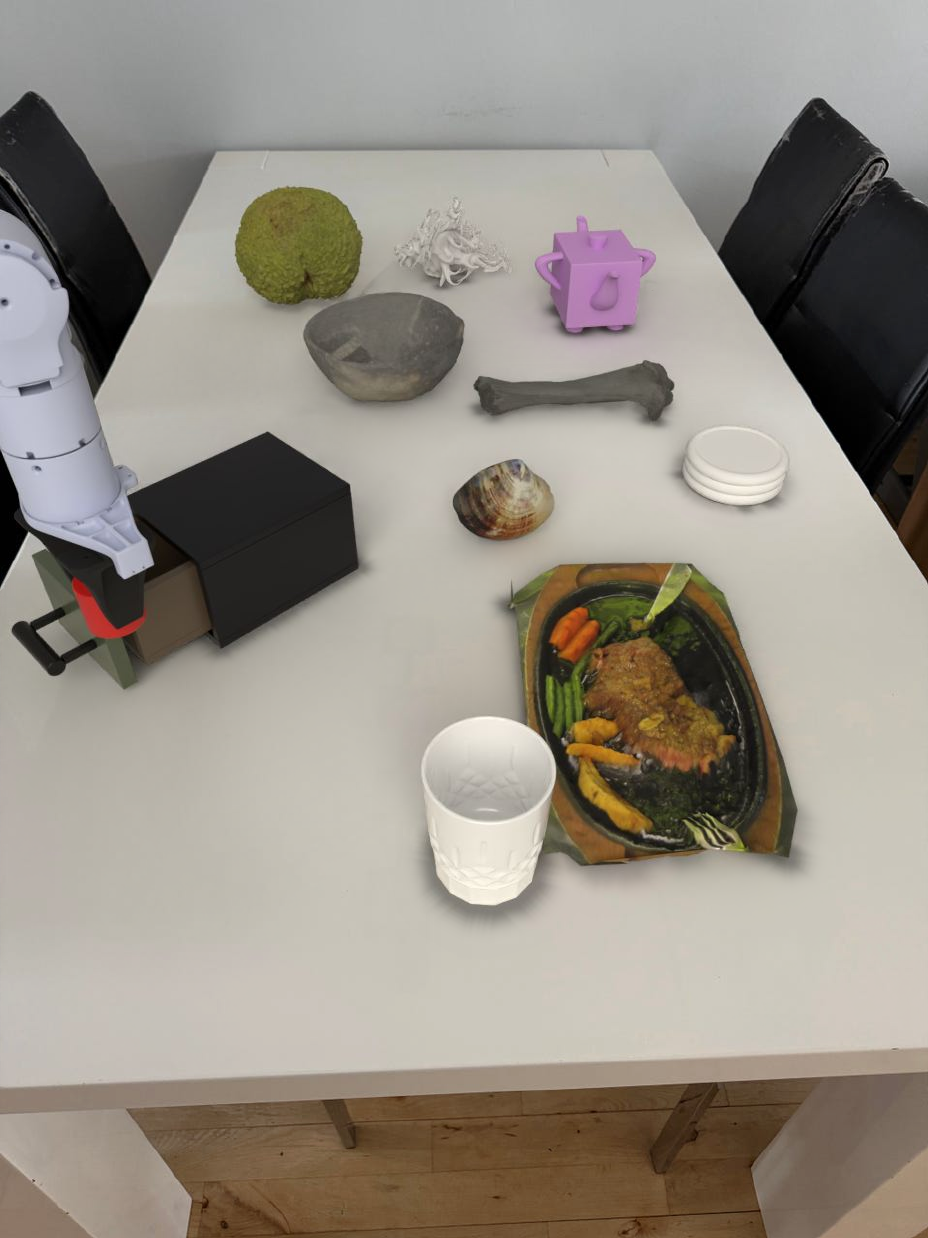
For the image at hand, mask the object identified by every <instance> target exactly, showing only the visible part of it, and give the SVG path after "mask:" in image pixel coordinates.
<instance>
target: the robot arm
mask: <svg viewBox="0 0 928 1238" xmlns="http://www.w3.org/2000/svg"><path fill="white" fill-rule="evenodd" d="M69 298H70V297H69V293H68V290H67V289H66V288H65V287H62V283H61V281H60V279H59V276H58V274H57V273H56V270H55V269H54V266H53V265H52V262H51V260H50V259H49V257H48V255H47V252H46V250H45V249H44V247H43V245H42V243H41V241H40V239H39V238H38V237H37V235H36V234H35V233H34V232H33V230H32V229H30V228H29V226H28V225H26V224H25V223H24V222H23V221H22V220H21V219H19V218H17V216H15V215H13V214H11V213H9V212H7V211H5V210H3V209H0V452H1V454H2V456H3V459H4V461H5V464H6V466H7V469H8V471H9V474H10V476H11V478H12V481H13V483H14V486H15V488H16V491H17V493H18V500H19V508H17V509H16V511H15V512H14V515H13V516H14V520H15V521H16V522H17V523H18V524H19V525H20V526H21V527H22V528H23V529H25V531H27V532H28V533H29V534H31V535H32V536H33V537H35V538H36V539H37V540H38V541H40V543H42V545H43V546H44V548H45V549H47V550H48V551H49V552H50V553H51V555H52V556H53V557H54V559H55V560H56V562H57V563H58V564H59V566H60V567H61V569H62V570H63V572H64V573H65V575H66V576H67V578H68V579H69V581H70V582H71V583H72V581H73V578H74V577H75V578H77V579H78V580H79V581H80V582H82V583H83V584H84V585H85V586H86V587H87V589H88V590H89V592H90V593H91V595H92V596H93V598H94V600H95V601H96V603H97V605H98V607H99V608H100V610H101V612H102V613H103V615H104V616H105V618H106V619H107V620H108V621H109V622H110V623H111V624H112V625H113V626H114V627H115V628H116V629H121V628H122V627H124V626H126V625H128V624H130V623H132V622H134V621H136V620H138V619H139V618H141V617H143V613H144V579H145V572H146V569H147V568H149V567H151V566H153V565H154V562H153V559H152V555H151V553H152V551H153V549H154V547H155V545H156V543H155V537H154V534H153V532H152V531H151V530H150V529H148V528H147V527H146V526H145V525H144V524H142V523H139V524H137V525H136V524H135V521H134V518H133V514H132V511H131V508H130V505H129V501H128V498H127V495H128V493H127V492H128V491H129V490H132V489H133V488H135V487H137V486H138V484H139V479H138V477H137V474H136V472H134V471H133V470H132V469H130V468H129V467H128V466H127V465H124V464H118V465H114V461H113V458H112V454H111V452H110V448H109V445H108V442H107V439H106V435H105V432H104V430H103V429H104V428H103V426H102V422H101V419H100V415H99V412H98V409H97V406H96V402H95V399H94V395H93V393H92V390H91V387H90V384H89V380H88V377H87V373H86V371H85V367H84V364H83V360H82V357H81V354H80V352H79V350H78V349H77V347H76V346H75V345H74V344H73V343H72V339H73V338H72V330H71V327H70V324H69V322H68V317H69V313H70V312H69V311H70V300H69Z"/></svg>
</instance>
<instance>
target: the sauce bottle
mask: <svg viewBox="0 0 928 1238" xmlns="http://www.w3.org/2000/svg"><path fill="white" fill-rule="evenodd" d="M72 588H73V591H74V593H75V596H76V599H77V601H78V604H79V606H80V609H81V611H82V614H83V617H84V619H85V622H86V624H87V627H88V629H89V631H90V632H91V633H92V634H94V635H96V636H98V637H101V638H118V637H122V636H125V635H128V634H130V633H132V632H134V631H135V630H137V629H138V628H139V627H140V626H141V625H142V624H143V622H144V621H145V619H146V614H147V612H146V608H145V605H144V613H143V617H141V618H139V619H138V620H136V621H134V622H132V623H130V624H128V625H126V626H124V627H122V628H121V629H116V628H115V627H114V626H113V625H112V624H111V623H110V622H109V621H108V620H107V619H106V618H105V616H104V615H103V613H102V612H101V610H100V608H99V607H98V605H97V603H96V601H95V600H94V598H93V596H92V595H91V593H90V592H89V590H88V589H87V587H86V586H85V585H84V584H83V583H82V582H80V581H79V580H78V579H77V578H75V577H74V578H73V581H72Z"/></svg>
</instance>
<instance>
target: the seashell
mask: <svg viewBox="0 0 928 1238" xmlns="http://www.w3.org/2000/svg"><path fill="white" fill-rule="evenodd" d="M555 505H556V502H555V496H554V494H553V492H552V491H551V487H550V485H549V484H548V483H547V481H546V480H545V479H544V478H543V477H541V476H539V475H538V474H536V473H534V472H533V471H532V470H531V468H530V467H529V466H528V465H527V464H526V463H525V462H524V460H522V459H520V458H514V459H512V458H511V459H507V460H504V461H501V462H498V463H495V464H492V465H490V466H487V467H485V468H483V469H481V470H480V471H478V472H476V473H475V474H474V475H473V476H471V477H470V478H469V479H468V480H467V481H466V482H465V483H464V484H463V485H462V486H460V488H459V489H458V490H456V492H455V493H454V495H453V496H452V507H453V510H454V511H455V513H456V515H457V519H458V520H459V523H460V524H461V525H462V526H463V528H465V529H466V530H467V531H469V532H470V534H473V535H475V536H476V537H480V538H484V539H488V540H496V541H507V540H512V539H517V538H520V537H522V536H525V535H528V534H529V533H532V532H534V531H535V530H536V529H537V528H539V527H540V526H542V525H543V524H544V523H545V522H546V521H547V520H548V519H549V518H550V517H551V515H552V514H553V512H554V510H555V507H556V506H555Z"/></svg>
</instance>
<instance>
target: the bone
mask: <svg viewBox="0 0 928 1238" xmlns="http://www.w3.org/2000/svg"><path fill="white" fill-rule="evenodd" d="M674 389H675V382H674V381H673V380H672V379H671V378H670V377H669V376H668V372H667V370H666V368H665V367H664V366H663V365H662V364H661V363H659V362H653V361H650V360H647V359H644V360H643V361H642V362H640V363H636V364H634V365H631V366H630V365H629V366H625V367H622V368H619V369H615V370H610V371H607V372H602V373H600V374H595V375H590V376H586V377H581V378H576V379H569V380H563V381H562V380H561V381H552V380H549V381H547V380H541V381H539V380H538V381H537V380H536V381H535V380H534V381H509V380H502V379H498V378H494V377H490V376H482V375H479V376H477V379H475V381H474V384H473V390H474V391H476V392H477V393H478V396H479V403H480V407H481V409H482V411H487V412H490V415H491V416H498V415H502V414H505V413H509V412H511V411H514V410H519V409H521V408H526V407H533V406H542V405H557V406H574V405H583V404H588V405H589V404H591V405H593V404H607V403H619V402H626V401H627V402H632V403H635V404H640V405H642V406H643V407H644V408H645V409H646V410H647V413H648V417H649V420H651V421H652V422H655V421H657V420H658V419H659V418H660V417H661V416H662V414H663V411H664V408H666V407H668V406H670V405H671V404H672V403H673V401H674V393H673V392H672V391H674Z"/></svg>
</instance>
